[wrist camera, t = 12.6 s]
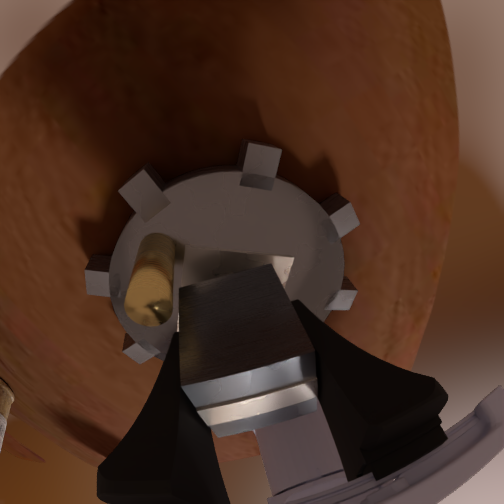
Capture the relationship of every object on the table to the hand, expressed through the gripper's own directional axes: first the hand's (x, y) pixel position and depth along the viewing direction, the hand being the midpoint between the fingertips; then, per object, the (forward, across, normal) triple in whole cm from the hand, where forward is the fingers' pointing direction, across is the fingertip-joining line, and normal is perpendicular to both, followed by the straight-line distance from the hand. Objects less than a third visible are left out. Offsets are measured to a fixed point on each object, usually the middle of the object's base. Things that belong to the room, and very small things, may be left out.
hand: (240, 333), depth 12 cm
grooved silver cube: (+1, 0, 0) cm, 1 cm away
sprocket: (+5, 0, 0) cm, 5 cm away
